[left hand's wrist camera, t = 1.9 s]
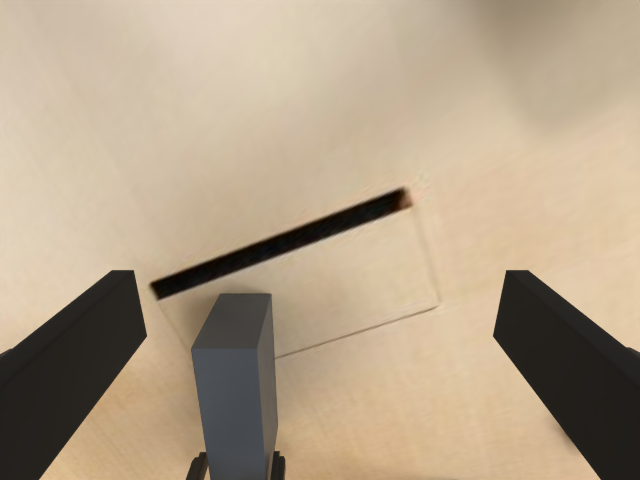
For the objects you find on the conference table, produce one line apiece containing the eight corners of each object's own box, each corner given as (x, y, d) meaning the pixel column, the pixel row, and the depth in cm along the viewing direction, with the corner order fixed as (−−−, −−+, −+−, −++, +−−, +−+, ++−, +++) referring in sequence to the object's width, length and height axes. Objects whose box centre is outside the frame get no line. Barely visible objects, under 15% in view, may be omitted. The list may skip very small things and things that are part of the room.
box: (220, 293, 43) (190, 348, 33) (271, 293, 43) (257, 348, 33) (234, 424, 50) (213, 501, 40) (277, 425, 50) (267, 501, 41)
